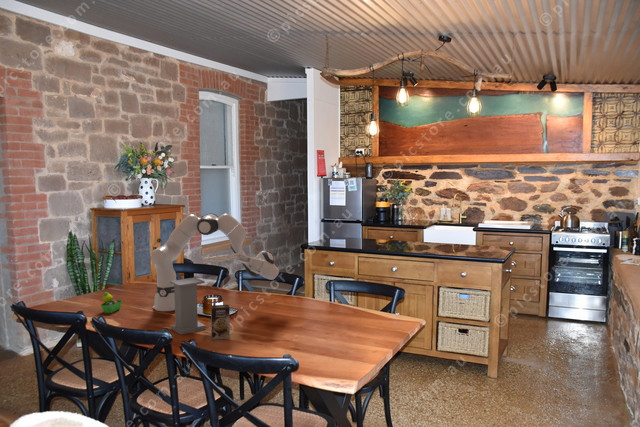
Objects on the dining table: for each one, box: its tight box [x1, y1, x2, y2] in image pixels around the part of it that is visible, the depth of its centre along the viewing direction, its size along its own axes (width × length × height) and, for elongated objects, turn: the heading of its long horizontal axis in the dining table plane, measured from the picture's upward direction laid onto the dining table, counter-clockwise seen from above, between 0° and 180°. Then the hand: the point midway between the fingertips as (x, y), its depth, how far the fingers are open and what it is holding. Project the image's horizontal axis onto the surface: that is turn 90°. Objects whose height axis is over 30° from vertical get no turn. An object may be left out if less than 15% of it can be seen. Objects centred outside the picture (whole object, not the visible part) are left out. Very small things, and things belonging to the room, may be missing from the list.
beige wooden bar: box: [202, 252, 245, 264], centre depth 277 cm, size 24×3×3 cm, turn 129°
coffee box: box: [210, 304, 231, 341], centre depth 252 cm, size 9×6×16 cm
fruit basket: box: [100, 291, 123, 314], centre depth 300 cm, size 11×9×11 cm
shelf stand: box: [170, 277, 207, 335], centre depth 265 cm, size 14×12×26 cm
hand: (237, 255), depth 282 cm, fingers closed on beige wooden bar, 3 cm apart
